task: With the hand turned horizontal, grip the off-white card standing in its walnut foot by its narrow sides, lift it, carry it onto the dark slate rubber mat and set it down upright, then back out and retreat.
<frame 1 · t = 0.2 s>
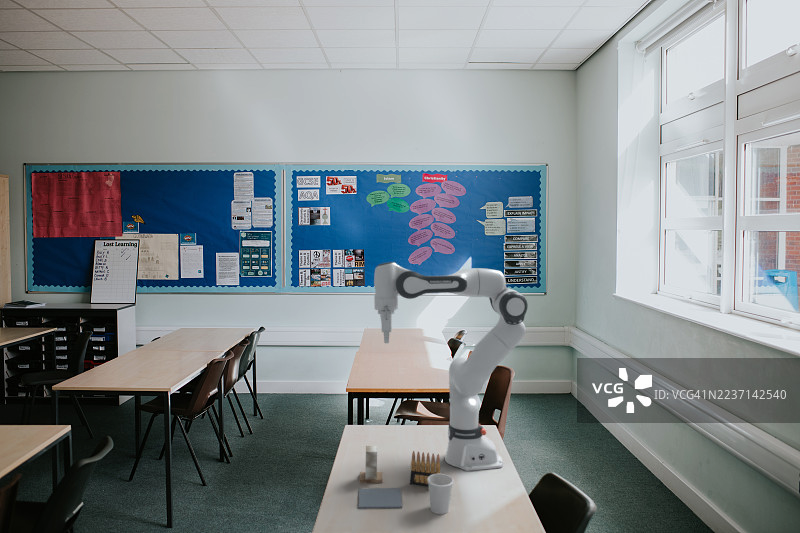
hand: (386, 340, 198), 47 cm above the table, tool pointing down, fingers open, 8 cm apart
slate mat: (380, 498, 172), on the table
ammunition clip: (425, 486, 182), on the table
card stand: (370, 479, 186), on the table
dixie cup: (439, 510, 166), on the table
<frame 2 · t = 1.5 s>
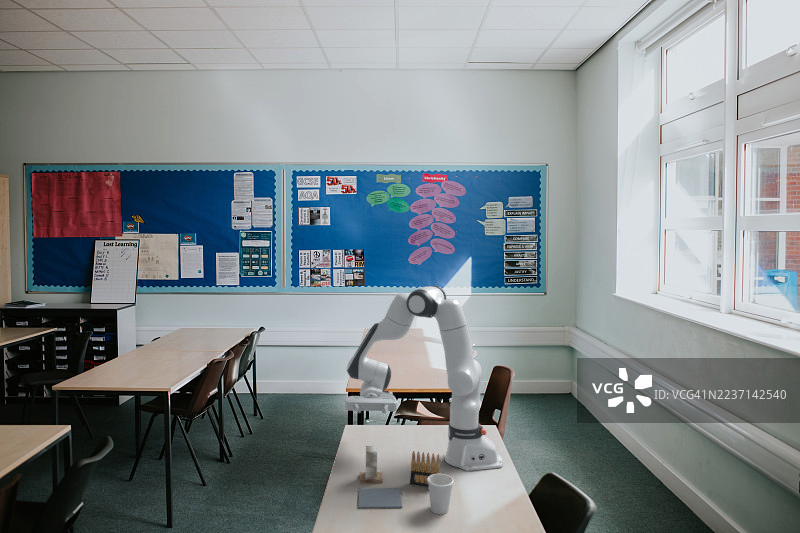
hand: (371, 411, 196), 21 cm above the table, tool horizontal, fingers open, 8 cm apart
nothing on the table moved.
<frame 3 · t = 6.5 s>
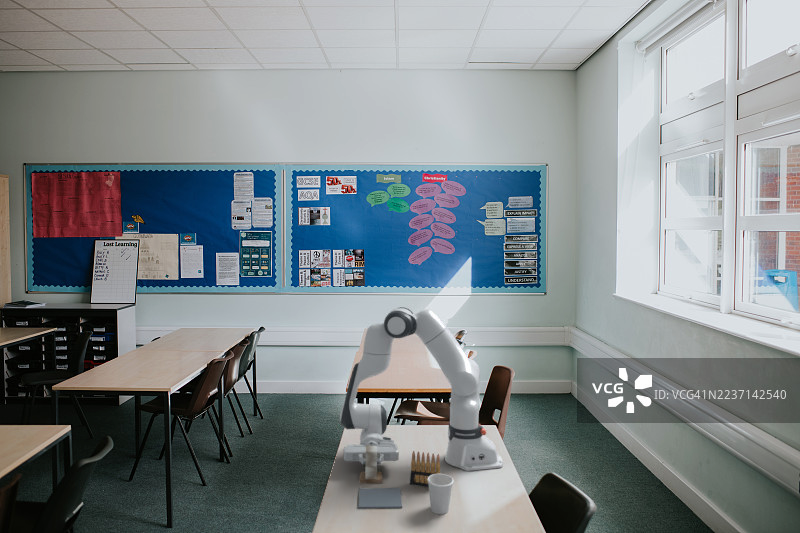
hand: (371, 462, 184), 7 cm above the table, tool horizontal, fingers closed on card stand, 4 cm apart
card stand: (370, 479, 186), on the table, touching gripper
everything else where it was.
when the fingers open (8 cm above the table, at t = 12.4 s): card stand stays where it is, resting on slate mat.
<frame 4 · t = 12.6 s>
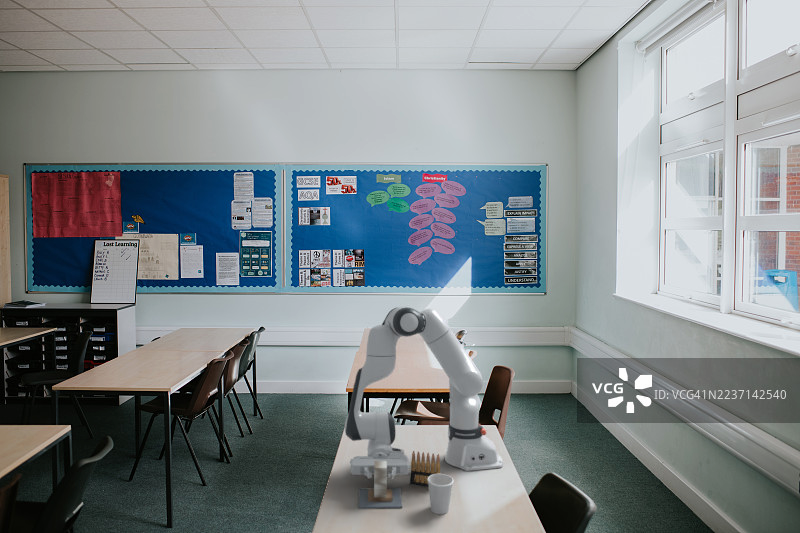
hand: (380, 476, 171), 8 cm above the table, tool horizontal, fingers open, 6 cm apart
card stand: (380, 497, 172), point 1 cm above the table, touching slate mat
everything else where it was.
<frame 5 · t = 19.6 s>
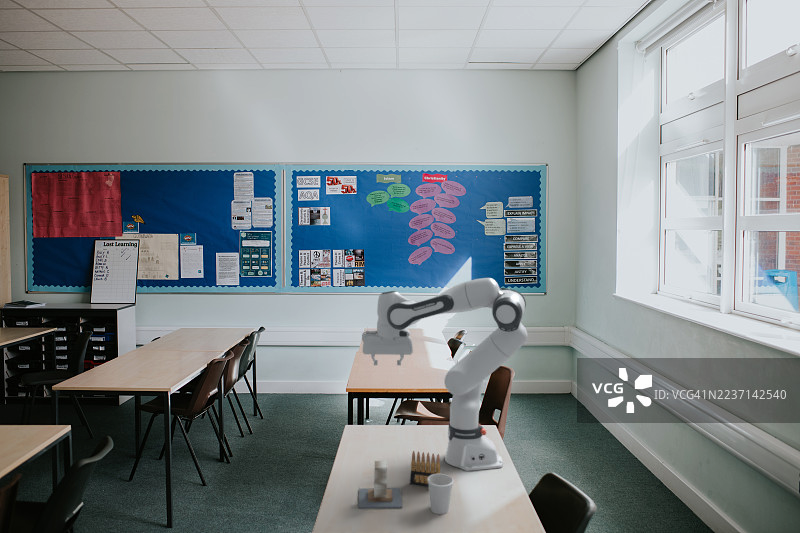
hand: (387, 365, 209), 35 cm above the table, tool pointing down, fingers open, 8 cm apart
nothing on the table moved.
at the end: card stand inside the target area (0.0 cm from its centre), point 0.6 cm above the table; card stand tilted 0°; the gripper is holding nothing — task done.
